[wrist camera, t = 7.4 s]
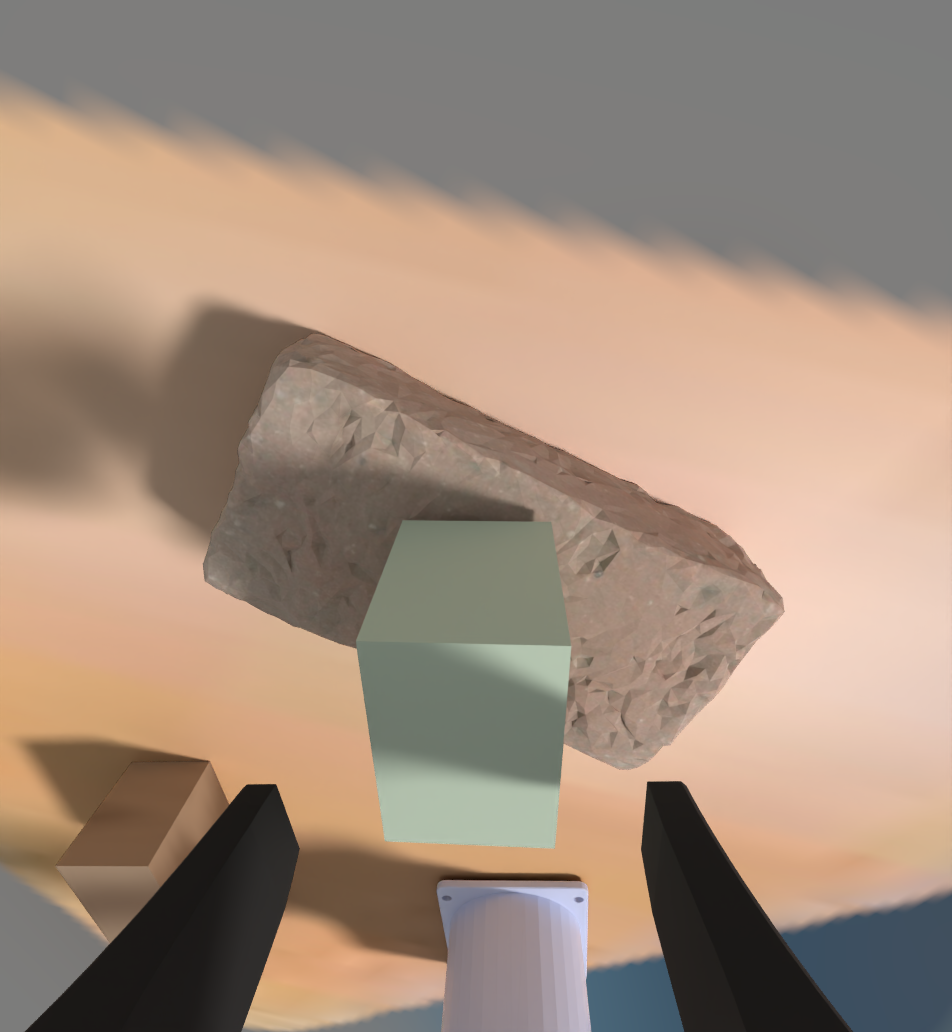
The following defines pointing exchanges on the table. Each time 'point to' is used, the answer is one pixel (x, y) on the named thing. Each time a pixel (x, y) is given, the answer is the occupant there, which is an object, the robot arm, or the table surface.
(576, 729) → the brick
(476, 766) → the green block
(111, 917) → the walnut block
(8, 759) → the table surface
